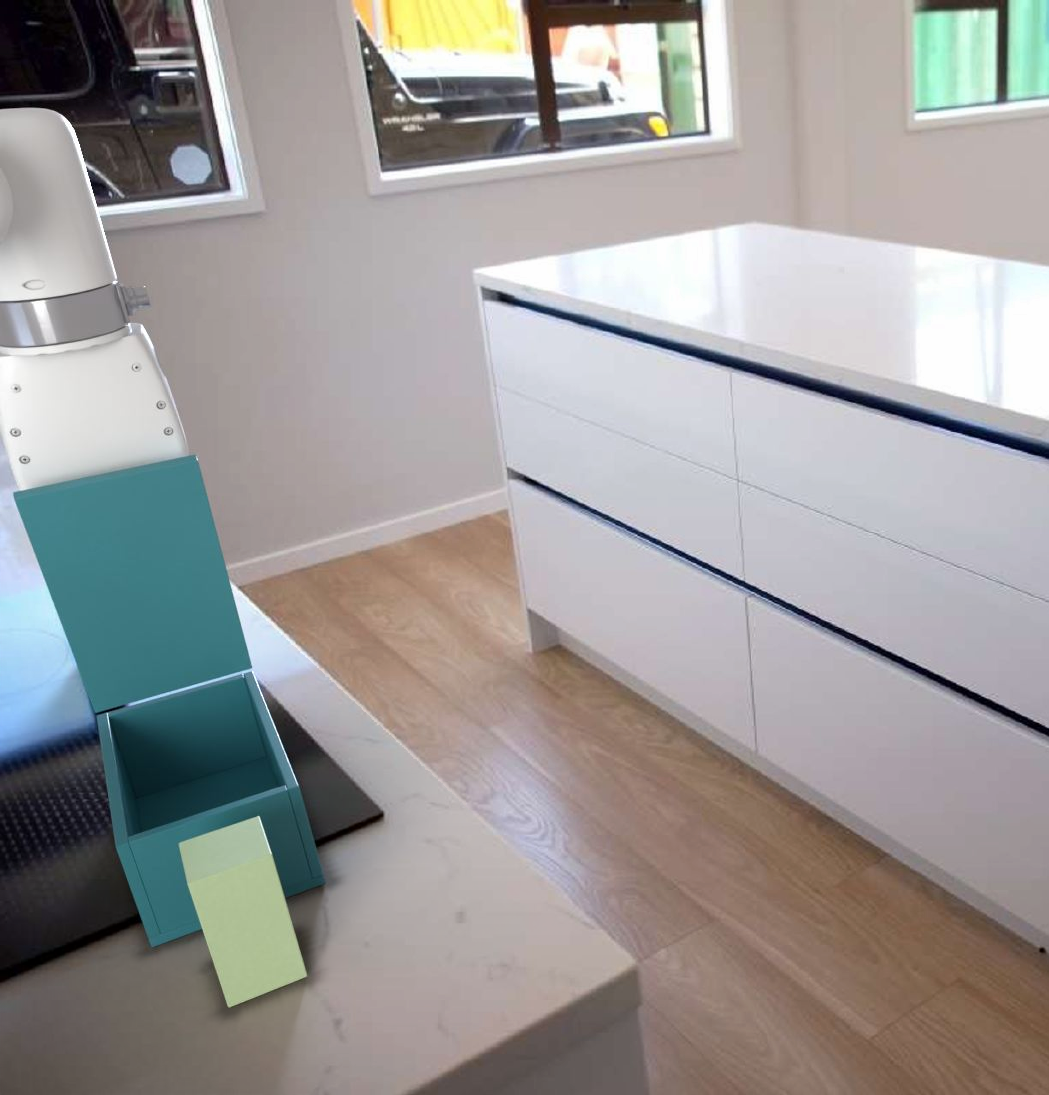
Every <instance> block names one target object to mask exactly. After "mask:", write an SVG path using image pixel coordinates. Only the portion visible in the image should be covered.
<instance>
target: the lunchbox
mask: <svg viewBox="0 0 1049 1095" xmlns="http://www.w3.org/2000/svg"><path fill="white" fill-rule="evenodd" d="M96 721H97V727H98V735H99V741H100V748H101V749H100V750H101V756H102V763H103V769H104V775H105V784H106V789H107V795H108V796H107V797H108V803H109V810H110V818H111V824H112V831H113V838H114V845H115V850H116V852H117V854H118V858H119V860H120V863H121V866H122V868H123V872H124V873H125V877H126V880H127V883H128V886H129V888H130V892H131V894H132V897H133V900H134V902H135V905H136V907H137V911H138V913H139V916H140V920H141V922H142V925H143V928H144V930H145V933H146V936H147V938H148V941H149V945H150V946H151V948H155V947H157V946H160V945H163V944H165V943H168V942H171V941H173V940H176V939H178V938H182V937H184V936H187V935H190V934H192V933H196V932H198V931H201V930H202V927H201V924H200V921H199V918H198V915H197V912H196V908H195V905H194V902H193V899H192V896H191V893H190V890H189V887H188V884H187V880H186V875H185V871H184V866H183V862H182V857H181V853H180V848H179V843H180V842H183V841H186V840H189V839H192V838H195V837H198V836H201V835H204V834H207V833H210V832H213V831H216V830H219V829H222V828H225V827H228V826H231V825H234V824H237V823H240V822H242V821H245V820H248V819H251V818H254V817H257V816H259V817H260V819H261V822H262V825H263V828H264V831H265V834H266V837H267V840H268V843H269V846H270V849H271V852H272V855H273V859H274V862H275V866H276V869H277V873H278V876H279V879H280V883H281V886H282V890H283V893H284V897H285V899H286V898H290V897H292V896H296V895H298V894H300V893H303V892H306V891H310V890H311V889H314V888H317V887H320V886H322V885H325V884H326V878H325V876H324V871H323V868H322V865H321V860H320V857H319V853H318V850H317V845H316V843H315V839H314V835H313V832H312V828H311V824H310V820H309V817H308V813H307V810H306V805H305V802H304V799H303V798H304V797H303V795H302V791H301V788H300V785H299V783H298V782H299V781H298V780H297V777H296V775H295V772H294V770H293V768H292V765H291V763H290V760H289V758H288V755H287V753H286V752H287V751H286V750H285V747H284V745H283V742H282V740H281V738H280V735H279V732H278V730H277V728H276V725H275V722H274V720H273V718H272V714H271V713H270V710H269V707H268V705H267V703H266V700H265V697H264V694H263V693H262V690H261V687H260V685H259V683H258V680H257V677H256V675H255V672H254V671H253V670H251V671H248V672H244V673H240V674H236V675H232V676H230V677H226V678H223V679H219V680H215V681H213V682H209V683H205V684H201V685H197V686H194V687H192V688H187V689H184V690H181V691H178V692H174V693H170V694H167V695H163V696H159V697H156V698H152V699H150V700H145V701H143V702H140V703H136V704H132V705H129V706H125V707H121V708H118V709H115V710H112V711H108V712H104V713H101V714H97V715H96Z"/></svg>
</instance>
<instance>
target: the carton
mask: <svg viewBox="0 0 1049 1095" xmlns="http://www.w3.org/2000/svg"><path fill="white" fill-rule="evenodd" d="M179 848H180V853H181V857H182V862H183V866H184V871H185V875H186V880H187V884H188V887H189V890H190V893H191V896H192V899H193V902H194V905H195V908H196V912H197V915H198V918H199V921H200V924H201V927H202V929H201V930H202V932H203V935H204V940H205V942H206V944H207V948H208V951H209V953H210V956H211V960H212V963H213V966H214V969H215V972H216V975H217V978H218V981H219V984H220V987H221V989H222V993H223V996H224V999H225V1002H226V1005H227V1007H228V1008H232V1007H234V1006H238V1005H239V1004H242V1003H244V1002H247V1001H249V1000H252V999H255V998H257V997H259V996H263V995H265V994H267V993H269V992H272V991H275V990H277V989H281V988H282V987H285V986H288V985H289V984H292V983H295V982H297V981H300V980H302V979H305V978H307V977H308V972H307V969H306V966H305V962H304V959H303V955H302V952H301V949H300V946H299V941H298V937H297V934H296V932H295V928H294V925H293V921H292V918H291V914H290V910H289V907H288V904H287V900H286V898H285V897H284V893H283V890H282V886H281V883H280V879H279V876H278V873H277V869H276V866H275V862H274V859H273V855H272V852H271V849H270V846H269V843H268V840H267V837H266V834H265V831H264V828H263V825H262V822H261V819H260V817H259V816H257V817H254V818H251V819H248V820H245V821H242V822H240V823H237V824H234V825H231V826H228V827H225V828H222V829H219V830H216V831H213V832H210V833H207V834H204V835H201V836H198V837H195V838H192V839H189V840H186V841H183V842H180V843H179Z"/></svg>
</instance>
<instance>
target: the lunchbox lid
mask: <svg viewBox="0 0 1049 1095" xmlns="http://www.w3.org/2000/svg"><path fill="white" fill-rule="evenodd" d="M12 496H13V500H14V503H15V506H16V509H17V511H18V513H19V516H20V519H21V522H22V524H23V526H24V529H25V531H26V532H25V533H26V534H27V538H28V540H29V542H30V545H31V547H32V550H33V553H34V556H35V558H36V562H37V563H38V567H39V569H40V571H41V574H42V576H43V579H44V582H45V584H46V588H47V590H48V592H49V595H50V598H51V601H52V603H53V605H54V609H55V611H56V613H57V616H58V619H59V621H60V622H59V623H60V624H61V627H62V629H63V632H64V635H65V637H66V640H67V642H68V646H69V648H70V650H71V653H72V656H73V658H74V661H75V664H76V666H77V669H78V671H79V672H78V673H79V674H80V677H81V679H82V682H83V685H84V687H85V689H86V693H87V696H88V698H89V700H90V704H91V705H92V709H93V711H94V713H95V714H96V713H101V712H104V711H108V710H111V709H115V708H118V707H121V706H122V707H123V706H125V705H129V704H133V703H135V702H136V703H137V702H139V701H142V700H146V699H150V698H153V697H156V696H157V697H158V696H160V695H164V694H168V693H170V692H171V693H172V692H174V691H177V690H181V689H185V688H188V687H191V686H195V685H198V684H202V683H206V682H209V681H212V680H217V679H219V678H222V677H227V676H230V675H234V674H237V673H241V672H244V671H247V670H251V669H253V665H252V661H251V657H250V653H249V650H248V645H247V642H246V638H245V633H244V630H243V626H242V622H241V619H240V616H239V611H238V607H237V604H236V603H237V602H236V600H235V596H234V592H233V589H232V588H233V587H232V584H231V581H230V577H229V573H228V569H227V564H226V562H225V558H224V554H223V550H222V547H221V542H220V539H219V535H218V532H217V527H216V524H215V523H216V522H215V520H214V516H213V512H212V508H211V505H210V501H209V496H208V494H207V489H206V486H205V482H204V478H203V474H202V470H201V467H200V462H199V460H198V456H197V455H196V454H191V455H190V454H189V456H185V457H181V458H176V459H171V460H166V461H161V462H156V463H152V464H147V465H142V466H137V467H132V468H128V469H123V470H118V471H113V472H108V473H104V474H99V475H94V476H89V477H84V478H80V479H75V480H70V481H65V482H60V483H55V484H51V485H46V486H41V487H36V488H31V489H27V490H22V491H20V490H17V491H13V492H12Z"/></svg>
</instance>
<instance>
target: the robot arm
mask: <svg viewBox="0 0 1049 1095" xmlns="http://www.w3.org/2000/svg"><path fill="white" fill-rule="evenodd" d="M147 291H148V290H147V288H146V286H145V285H143V286H136V287H133V286H132V285H129V286H125V284H124V283H123V282H122V283H119V280H118V276H117V273H116V269H115V266H114V263H113V259H112V255H111V251H110V248H109V245H108V242H107V238H106V235H105V232H104V228H103V224H102V219H101V217H100V213H99V210H98V206H97V203H96V199H95V196H94V193H93V189H92V186H91V182H90V178H89V175H88V172H87V168H86V164H85V162H84V158H83V154H82V151H81V147H80V144H79V141H78V138H77V135H76V132H75V129H74V128H73V127H72V124H71V123H70V121H69V120H68V119H67V118H66V117H65V116H64V115H63V114H61V113H59V112H57V111H55V110H53V109H49V108H41V107H18V108H17V107H15V108H1V109H0V436H1V440H2V443H3V447H4V449H5V454H6V456H7V461H8V464H9V467H10V470H11V472H12V476H13V478H14V480H15V483H16V485H17V488H18V489H19V490H18V491H22V490H27V489H31V488H36V487H41V486H46V485H51V484H55V483H60V482H65V481H70V480H75V479H80V478H84V477H89V476H94V475H99V474H104V473H108V472H113V471H118V470H123V469H128V468H132V467H137V466H142V465H147V464H152V463H156V462H161V461H166V460H171V459H176V458H181V457H185V456H190V452H189V445H188V440H187V437H186V434H185V433H186V432H185V430H184V427H183V423H182V420H181V418H180V415H179V411H178V409H177V405H176V403H175V399H174V395H173V393H172V389H171V388H170V385H169V381H168V379H167V376H166V373H165V371H164V369H163V365H162V363H161V361H160V359H159V356H158V354H157V351H156V348H155V347H154V345H153V344H154V343H152V340H151V338H150V336H149V334H148V333H147V331H146V329H145V327H144V326H143V324H142V323H138V322H131V321H130V317H131V316H134V314H133V312H139V309H144V308H150V307H151V302H150V298H149V294H148V292H147Z"/></svg>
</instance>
